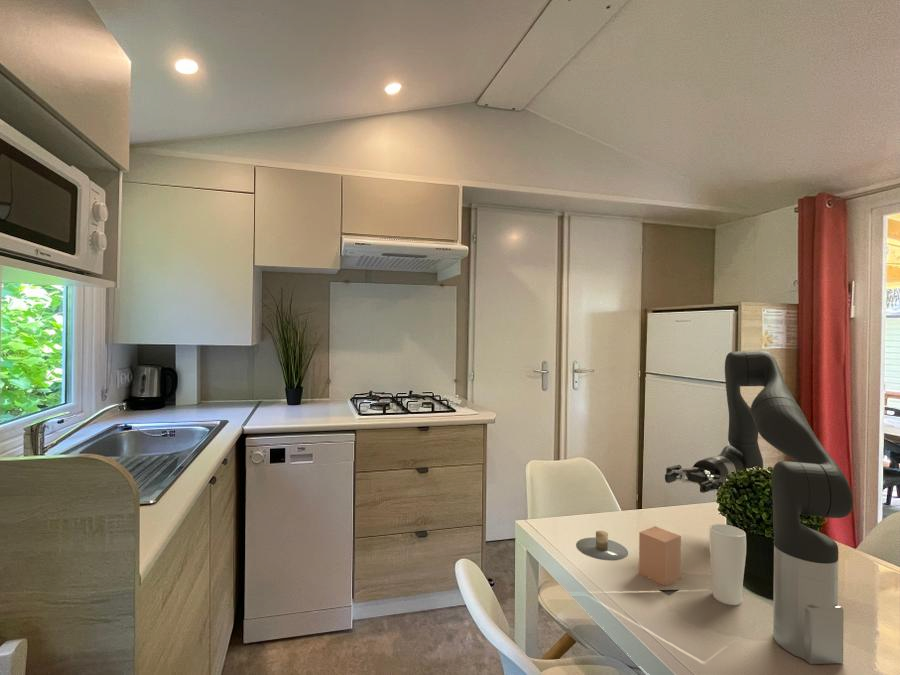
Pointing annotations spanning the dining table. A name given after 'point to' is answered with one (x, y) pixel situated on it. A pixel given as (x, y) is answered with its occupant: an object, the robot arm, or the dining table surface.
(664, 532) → the orange brown block
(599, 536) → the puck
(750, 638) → the dining table surface
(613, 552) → the plate
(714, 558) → the drinking glass
